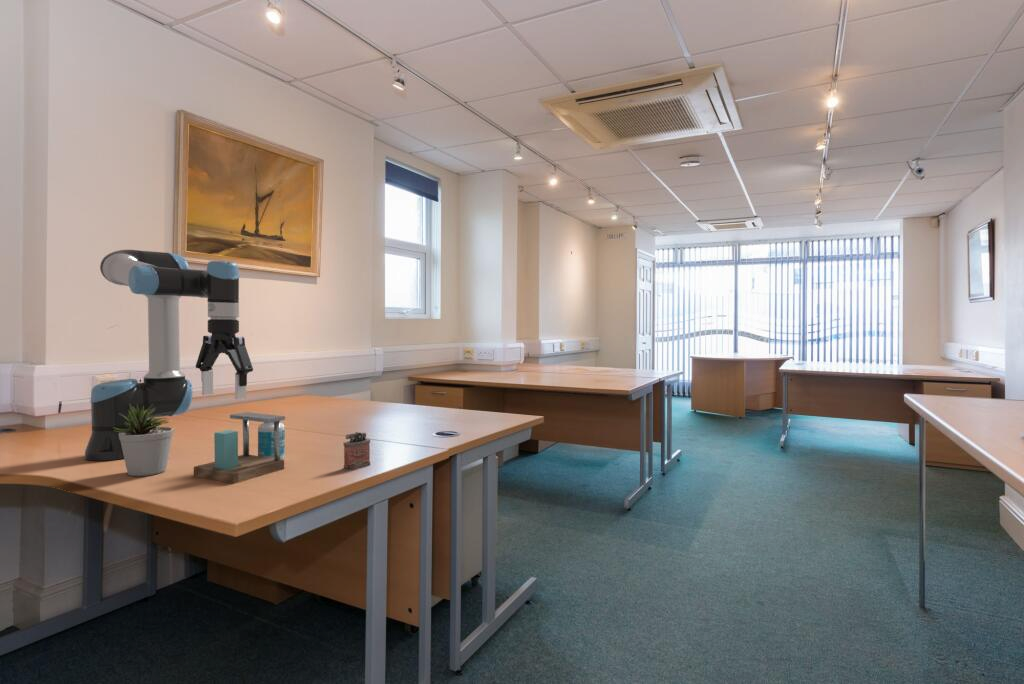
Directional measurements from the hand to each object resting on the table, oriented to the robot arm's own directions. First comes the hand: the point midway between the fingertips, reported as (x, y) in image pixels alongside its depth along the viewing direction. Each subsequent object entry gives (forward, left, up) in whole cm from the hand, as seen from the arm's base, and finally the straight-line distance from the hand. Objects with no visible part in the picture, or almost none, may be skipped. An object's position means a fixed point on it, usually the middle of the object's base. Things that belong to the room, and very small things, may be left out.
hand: (223, 396), depth 146 cm
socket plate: (+2, +3, -21) cm, 22 cm away
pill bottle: (-1, +16, -22) cm, 27 cm away
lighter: (+27, +22, -22) cm, 41 cm away
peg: (+2, -1, -21) cm, 22 cm away
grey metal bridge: (+2, +9, -21) cm, 23 cm away
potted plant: (-21, -9, -22) cm, 31 cm away
